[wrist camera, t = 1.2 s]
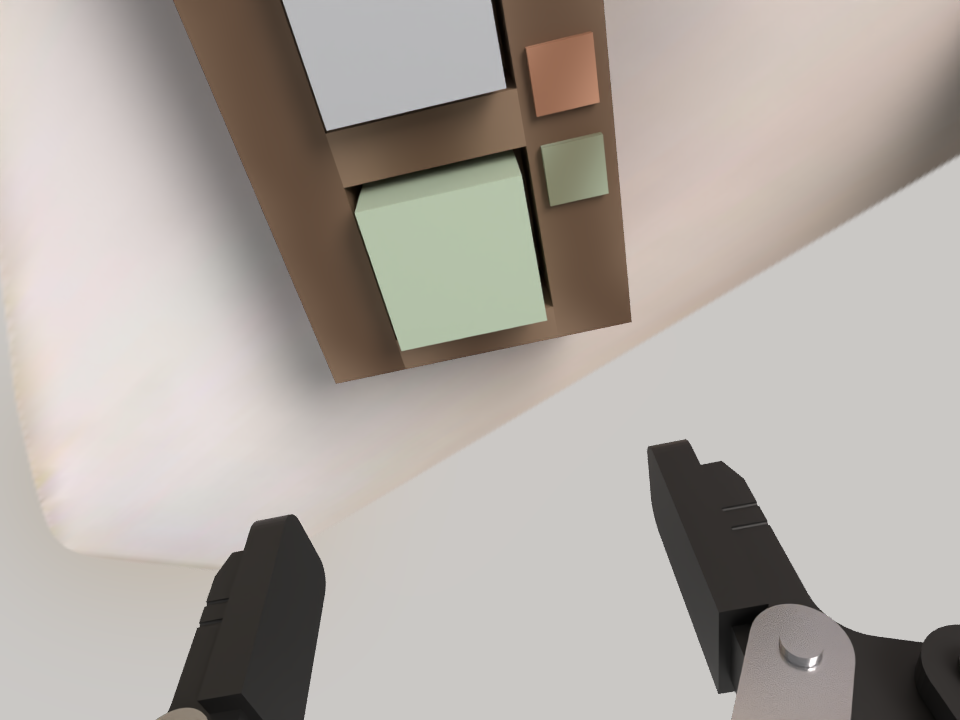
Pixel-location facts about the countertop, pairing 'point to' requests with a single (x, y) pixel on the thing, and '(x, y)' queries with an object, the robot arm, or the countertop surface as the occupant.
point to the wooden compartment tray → (421, 145)
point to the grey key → (394, 54)
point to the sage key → (453, 250)
